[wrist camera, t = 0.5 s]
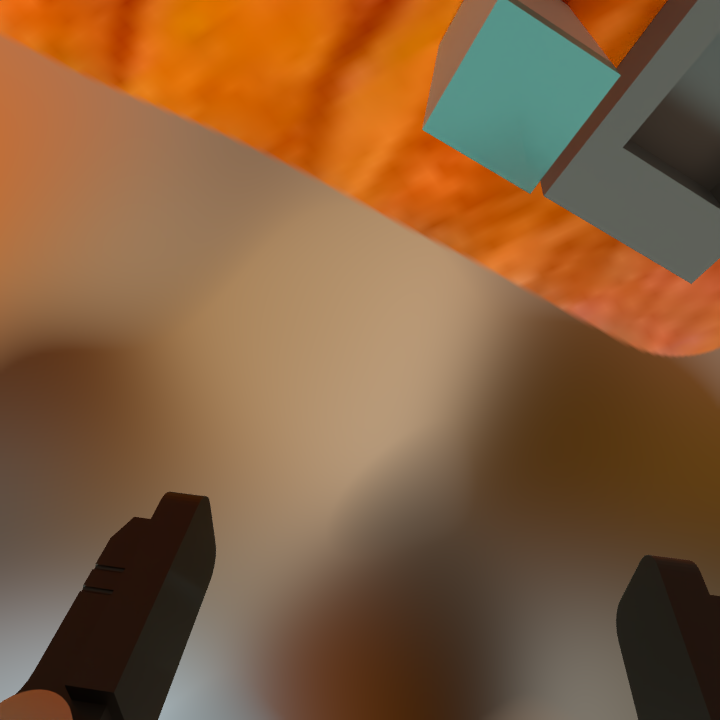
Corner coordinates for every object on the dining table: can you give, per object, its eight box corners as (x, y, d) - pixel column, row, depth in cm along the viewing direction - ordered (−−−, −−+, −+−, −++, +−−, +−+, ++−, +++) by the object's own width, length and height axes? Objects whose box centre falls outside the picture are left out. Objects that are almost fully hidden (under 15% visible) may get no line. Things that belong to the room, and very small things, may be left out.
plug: (489, -48, 25) (500, -5, 16) (567, 4, 26) (621, 75, 16) (439, 45, 27) (422, 129, 18) (511, 90, 28) (530, 193, 19)
